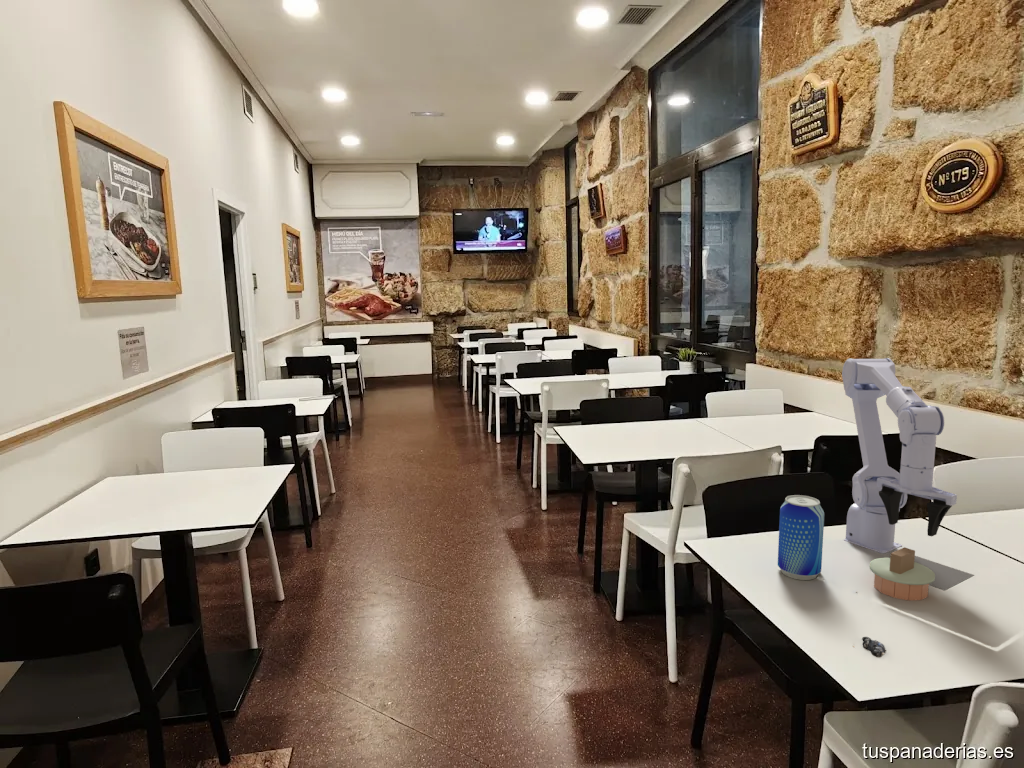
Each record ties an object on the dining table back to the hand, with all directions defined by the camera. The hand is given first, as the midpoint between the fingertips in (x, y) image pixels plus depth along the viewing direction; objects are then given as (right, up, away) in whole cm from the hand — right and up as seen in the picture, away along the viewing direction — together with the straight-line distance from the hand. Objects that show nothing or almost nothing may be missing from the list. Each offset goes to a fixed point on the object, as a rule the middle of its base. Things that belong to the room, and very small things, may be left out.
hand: (912, 529), depth 133 cm
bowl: (-6, -11, -6) cm, 14 cm away
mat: (+4, -10, +2) cm, 11 cm away
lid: (-6, -7, -6) cm, 11 cm away
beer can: (-22, -10, +3) cm, 24 cm away
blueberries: (-22, -15, -24) cm, 36 cm away
